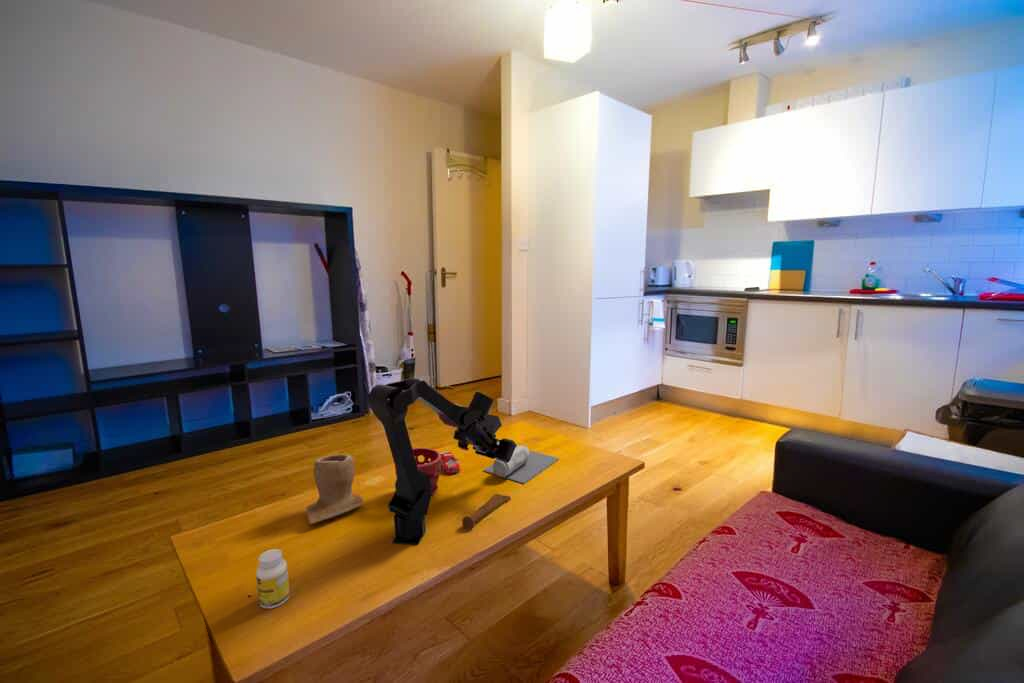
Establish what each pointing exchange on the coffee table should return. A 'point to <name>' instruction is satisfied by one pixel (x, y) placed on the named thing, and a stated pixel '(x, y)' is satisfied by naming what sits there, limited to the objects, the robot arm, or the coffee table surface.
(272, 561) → the supplement bottle
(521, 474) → the mat
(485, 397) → the robot arm
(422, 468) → the plant pot
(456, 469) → the race car
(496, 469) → the energy drink can
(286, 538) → the coffee table surface
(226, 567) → the coffee table surface
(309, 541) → the coffee table surface
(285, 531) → the coffee table surface
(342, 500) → the stone cup
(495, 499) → the primitive tool
